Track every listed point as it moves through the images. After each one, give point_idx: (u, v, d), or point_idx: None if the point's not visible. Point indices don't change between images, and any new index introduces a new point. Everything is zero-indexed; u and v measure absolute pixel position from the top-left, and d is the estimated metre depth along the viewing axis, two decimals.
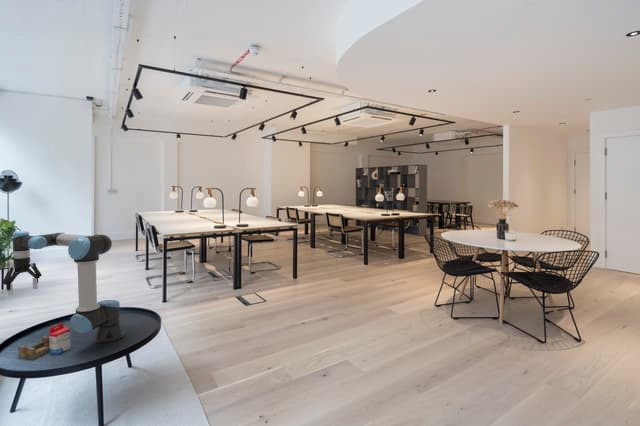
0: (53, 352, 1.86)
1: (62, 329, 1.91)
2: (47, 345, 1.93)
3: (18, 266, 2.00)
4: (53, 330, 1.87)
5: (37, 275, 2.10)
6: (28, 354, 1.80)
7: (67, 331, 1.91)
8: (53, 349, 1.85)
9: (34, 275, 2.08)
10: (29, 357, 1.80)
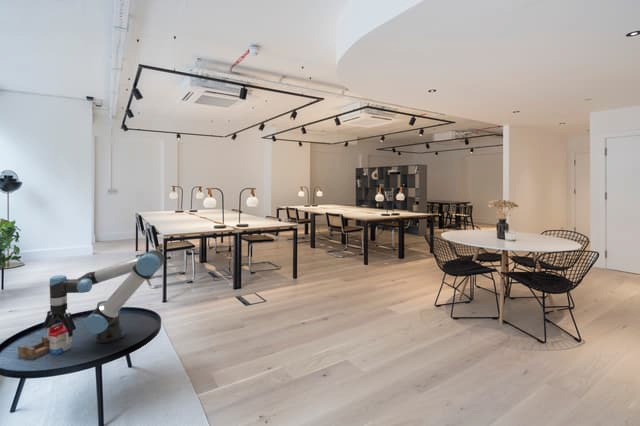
0: (53, 352, 1.86)
1: (62, 329, 1.91)
2: (47, 345, 1.93)
3: (53, 312, 1.88)
4: (53, 330, 1.87)
5: (68, 328, 1.86)
6: (28, 354, 1.80)
7: None
8: (53, 349, 1.85)
9: (65, 327, 1.86)
10: (29, 357, 1.80)
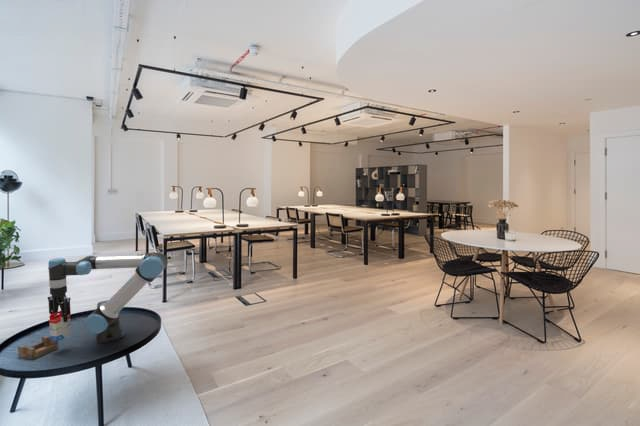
0: (53, 339, 1.85)
1: None
2: (47, 345, 1.93)
3: (52, 294, 1.87)
4: (53, 317, 1.87)
5: (63, 314, 1.86)
6: (28, 354, 1.80)
7: None
8: (53, 336, 1.85)
9: (61, 311, 1.86)
10: (29, 357, 1.80)
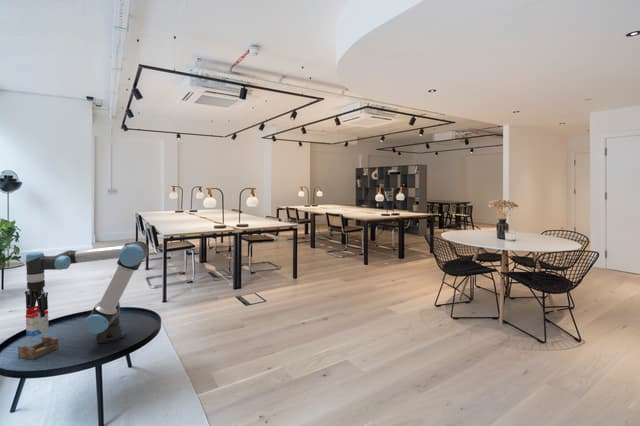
0: (29, 334, 1.82)
1: None
2: (47, 345, 1.93)
3: (29, 289, 1.84)
4: (30, 312, 1.84)
5: (40, 309, 1.83)
6: (28, 354, 1.80)
7: (45, 313, 1.87)
8: (29, 331, 1.82)
9: (38, 306, 1.83)
10: (29, 357, 1.80)
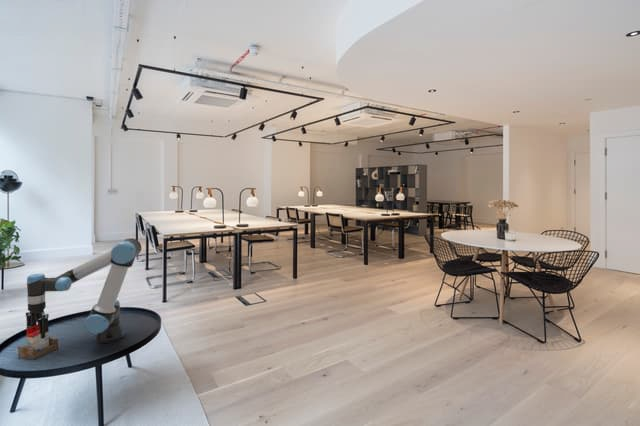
0: None
1: None
2: None
3: (30, 310, 1.85)
4: (31, 331, 1.85)
5: (41, 330, 1.84)
6: (28, 354, 1.80)
7: (45, 332, 1.88)
8: None
9: None
10: (29, 357, 1.80)
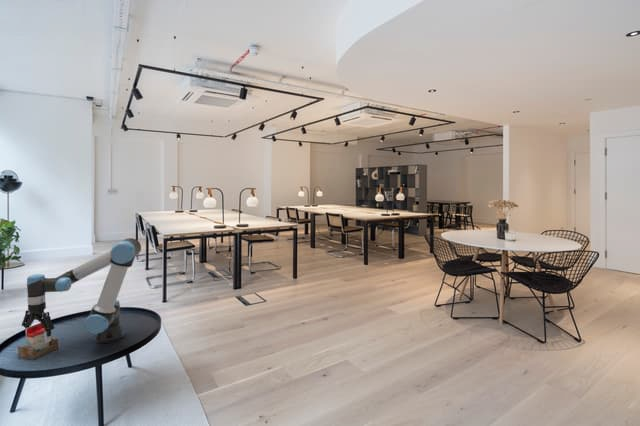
0: None
1: (40, 330, 1.88)
2: None
3: (31, 311, 1.85)
4: (31, 331, 1.85)
5: (46, 328, 1.83)
6: (28, 354, 1.80)
7: None
8: None
9: None
10: (29, 357, 1.80)
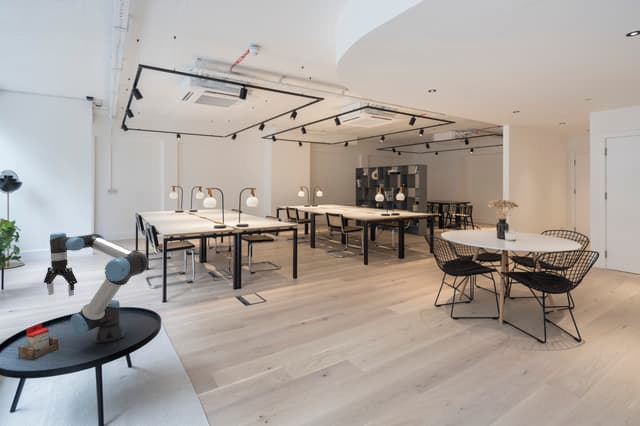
0: None
1: (40, 330, 1.88)
2: None
3: (53, 267, 1.96)
4: (31, 331, 1.85)
5: (70, 282, 1.95)
6: (28, 354, 1.80)
7: (45, 332, 1.88)
8: None
9: (67, 281, 1.95)
10: (29, 357, 1.80)
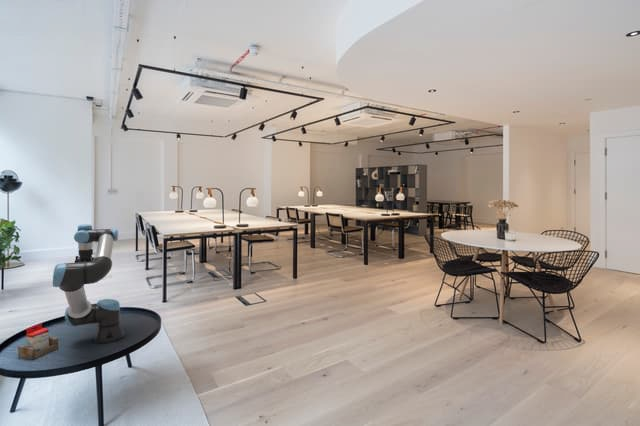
0: None
1: (40, 330, 1.88)
2: None
3: (80, 256, 2.13)
4: (31, 331, 1.85)
5: None
6: (28, 354, 1.80)
7: (45, 332, 1.88)
8: None
9: None
10: (29, 357, 1.80)
